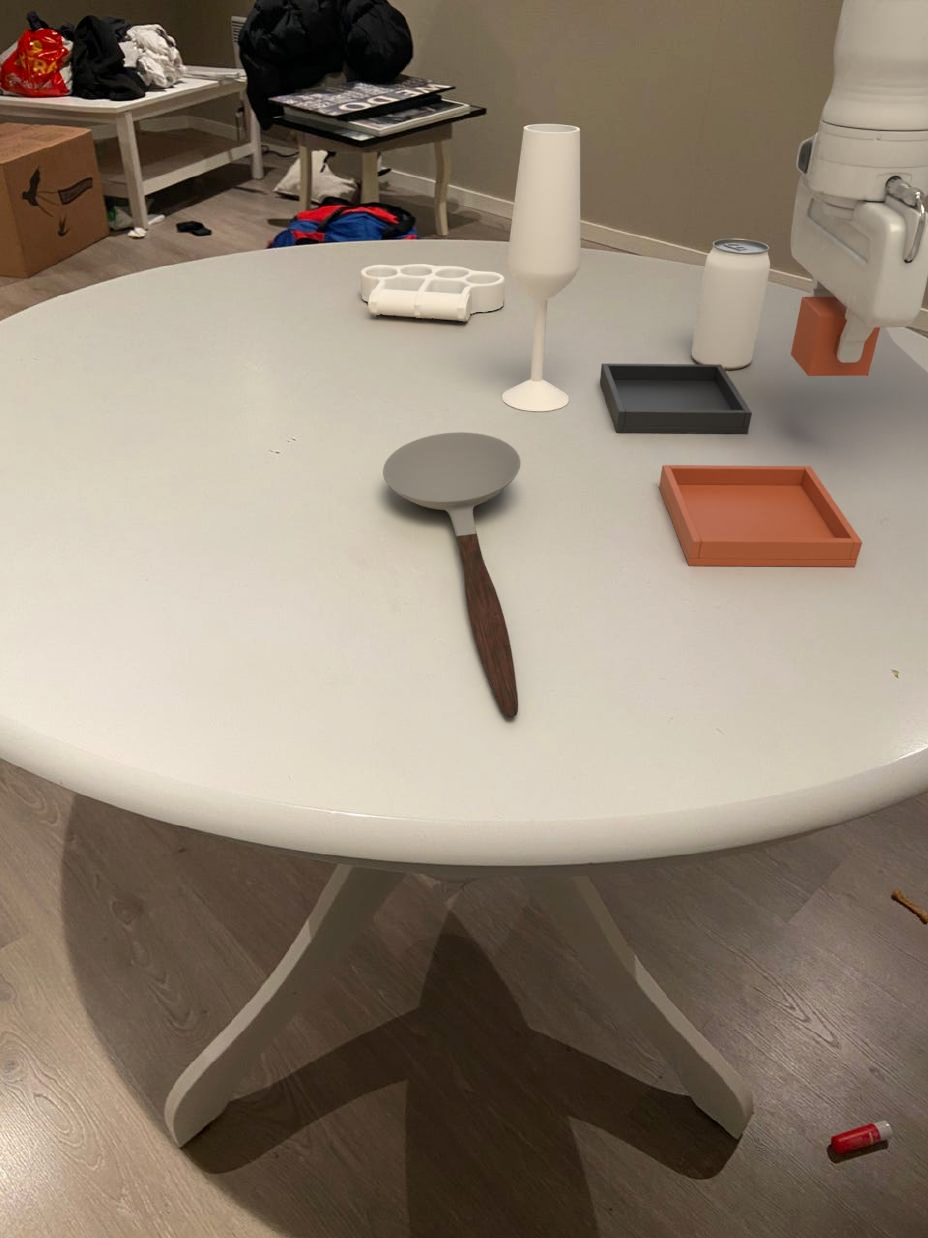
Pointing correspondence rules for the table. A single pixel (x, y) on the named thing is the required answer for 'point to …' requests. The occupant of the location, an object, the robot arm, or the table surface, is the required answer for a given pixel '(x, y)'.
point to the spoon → (465, 528)
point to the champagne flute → (545, 242)
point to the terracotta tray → (756, 517)
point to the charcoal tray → (673, 399)
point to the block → (826, 339)
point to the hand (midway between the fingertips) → (832, 345)
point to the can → (731, 303)
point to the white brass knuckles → (430, 290)
